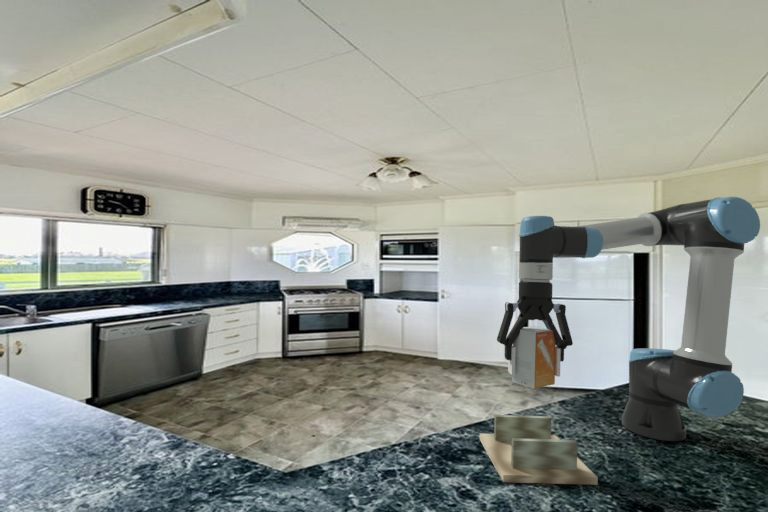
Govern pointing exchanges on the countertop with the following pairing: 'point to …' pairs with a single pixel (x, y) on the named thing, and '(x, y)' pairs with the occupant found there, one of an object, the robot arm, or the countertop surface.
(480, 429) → the countertop surface
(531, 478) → the bookend shelf
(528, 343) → the small box
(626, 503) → the countertop surface
